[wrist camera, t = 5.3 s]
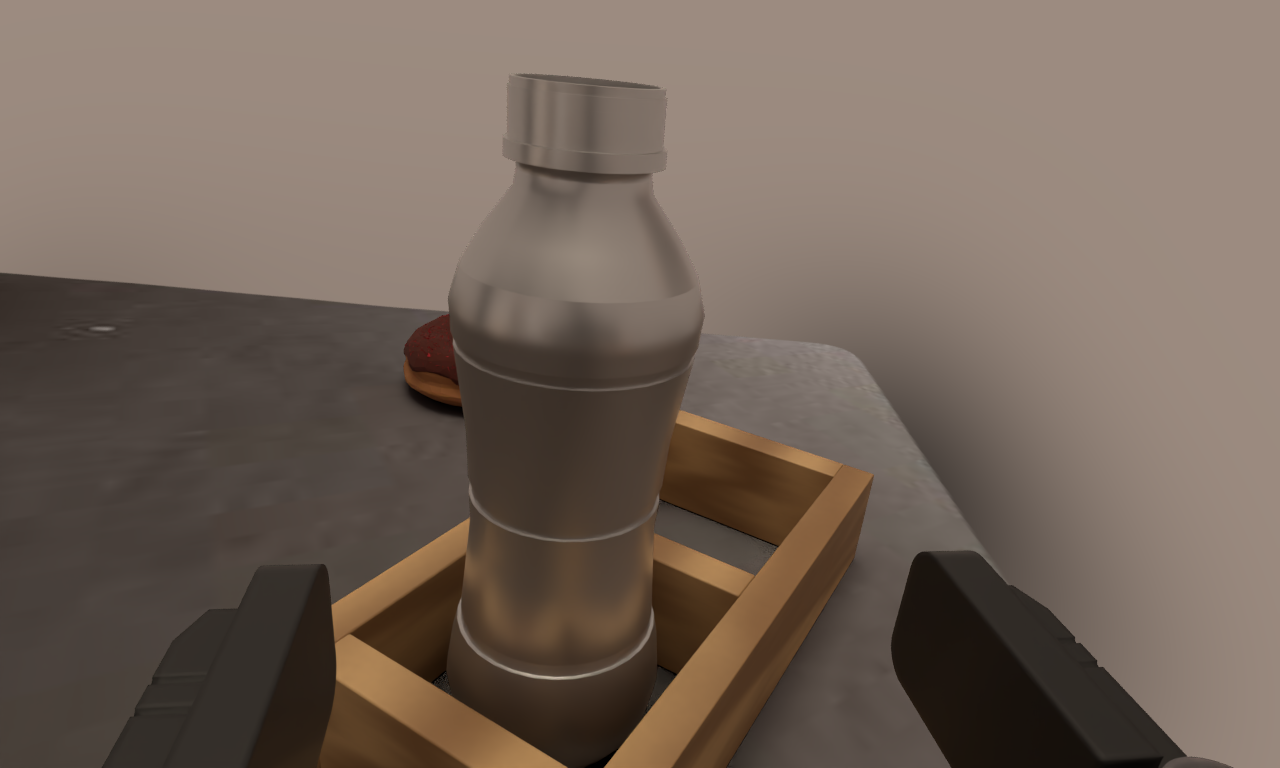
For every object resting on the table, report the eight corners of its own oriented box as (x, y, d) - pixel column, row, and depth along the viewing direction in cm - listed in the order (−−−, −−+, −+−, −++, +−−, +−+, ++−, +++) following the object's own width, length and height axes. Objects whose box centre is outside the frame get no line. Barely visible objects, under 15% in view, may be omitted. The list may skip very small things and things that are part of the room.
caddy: (290, 752, 24) (275, 639, 22) (644, 477, 41) (652, 400, 39) (595, 982, 19) (608, 858, 17) (854, 557, 36) (874, 474, 34)
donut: (462, 345, 56) (462, 292, 54) (584, 375, 53) (588, 320, 51) (367, 394, 47) (364, 332, 46) (507, 433, 44) (509, 369, 43)
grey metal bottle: (484, 636, 29) (489, 65, 21) (661, 667, 28) (736, 90, 20) (415, 783, 23) (386, 69, 15) (636, 825, 23) (728, 103, 15)
